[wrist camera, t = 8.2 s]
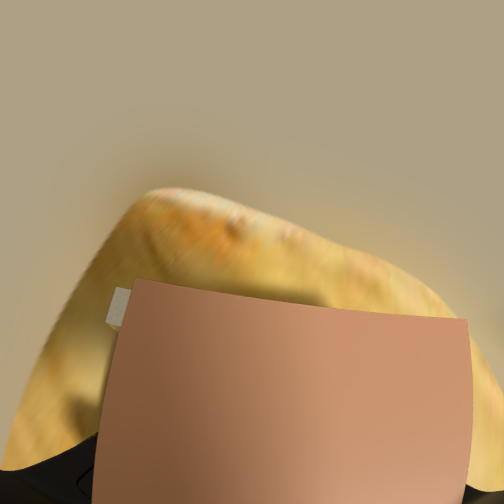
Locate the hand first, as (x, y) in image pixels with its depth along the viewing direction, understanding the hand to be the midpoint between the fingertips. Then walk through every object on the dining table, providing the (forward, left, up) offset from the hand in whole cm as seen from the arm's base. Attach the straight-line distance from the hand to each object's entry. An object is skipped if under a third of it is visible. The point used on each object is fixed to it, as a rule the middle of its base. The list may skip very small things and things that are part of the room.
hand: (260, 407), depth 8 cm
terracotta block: (-1, 0, -7) cm, 7 cm away
